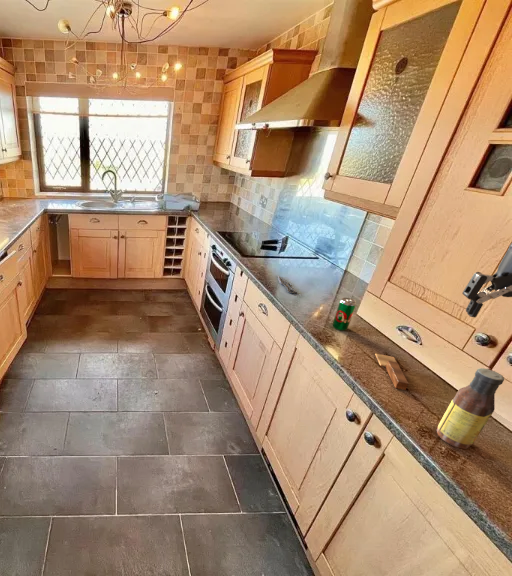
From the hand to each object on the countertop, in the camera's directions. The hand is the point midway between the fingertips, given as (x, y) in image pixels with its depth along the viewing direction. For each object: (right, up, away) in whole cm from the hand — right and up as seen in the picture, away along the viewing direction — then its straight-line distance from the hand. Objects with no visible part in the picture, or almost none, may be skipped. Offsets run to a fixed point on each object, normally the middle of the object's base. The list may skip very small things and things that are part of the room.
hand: (495, 319), depth 70 cm
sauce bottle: (-6, -30, +4) cm, 30 cm away
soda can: (-3, -8, +47) cm, 48 cm away
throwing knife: (-7, +9, +82) cm, 82 cm away
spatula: (-2, -19, +25) cm, 32 cm away
